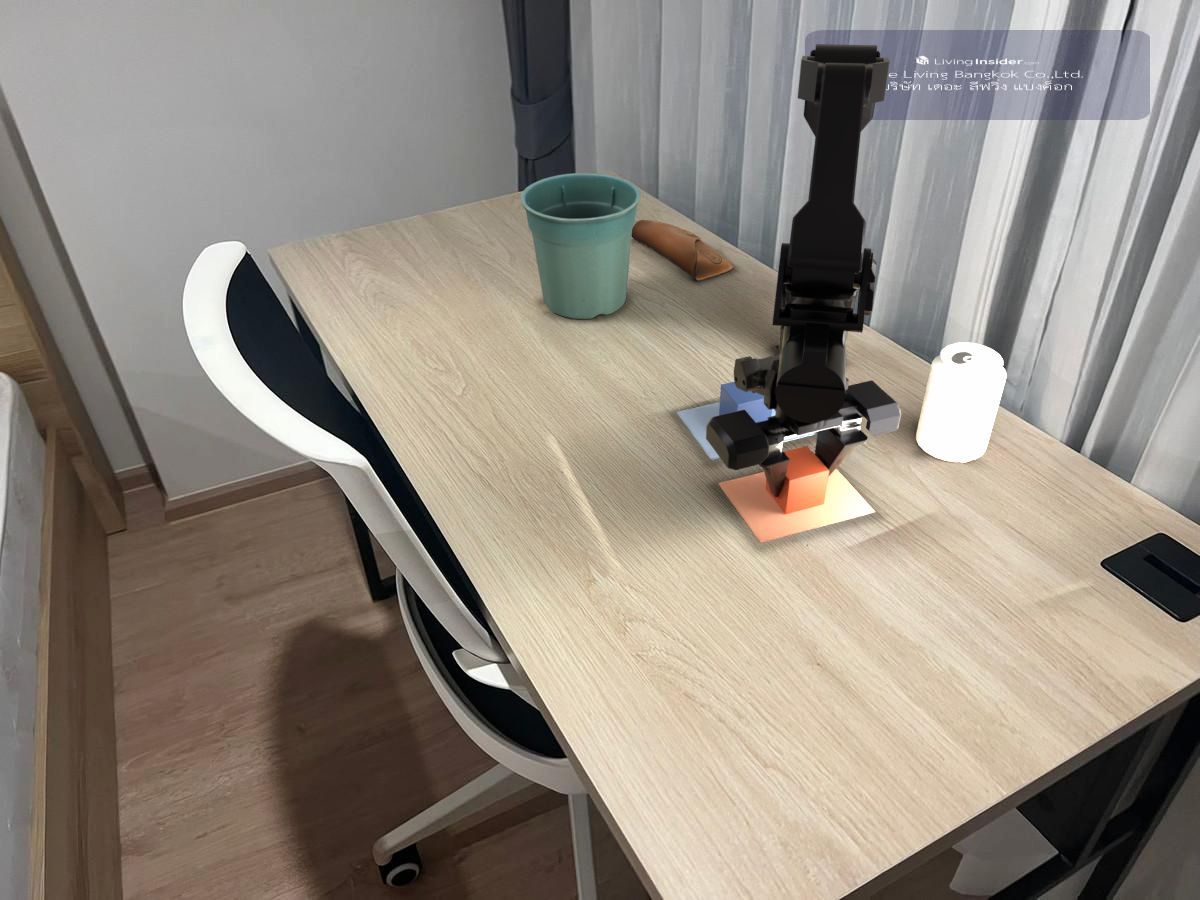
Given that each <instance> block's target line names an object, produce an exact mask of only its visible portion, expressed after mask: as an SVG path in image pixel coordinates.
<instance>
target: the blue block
mask: <svg viewBox="0 0 1200 900" xmlns="http://www.w3.org/2000/svg"><path fill="white" fill-rule="evenodd" d="M719 402H720V407H719V415H724V414H728V413H732V412H737V411H741V410H746V411H747V413H748V414H749V415H750V416H751V417H752V419H753V420H754V421H755V422H756V423H757V422H761V421H766V420H767V418H768V417H772V409H771V410H769V409H768V408H767V407H766V406H765V405H764V396H763V395H761V394H758V393H752V392H751V391H748V392H744V391H742V390H740V389H738V388H737V387H736V385H735V382H734V381H731V382H727V383H721V384H720V391H719Z"/></svg>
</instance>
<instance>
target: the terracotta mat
mask: <svg viewBox="0 0 1200 900" xmlns="http://www.w3.org/2000/svg"><path fill="white" fill-rule="evenodd" d="M717 484H718V485H719V487H720V488H721V489H722V491H723V493H724V494H725V495H726V497H727V498H728V499H729V501H730V503H731V504H732V505H733V506H734V508H735V509H736V511H737V512H738V513H739V515H740V517H741V518H742V519H743V520H744V522H745V524H746V525H747V526H748V527H749V529H750V530H751V532H752V534H753V535H754V536H755V537H756V539H757V540H758V542H759V543H760V544H763V543H765V542H769V541H773V540H778V539H781V538H784V537H787V536H792V535H796V534H800V533H803V532H807V531H810V530H814V529H818V528H821V527H825V526H829V525H832V524H836V523H839V522H844V521H847V520H851V519H856V518H858V517H863V516H866V515H869V514H872V513H876V511H875V509H874V508H872V506H871V505H870V504H869V503H868V502H867V501H866V500H865V498H864V497H862V495H861V494H860V493H859V492H858V491H857V489H855V487H853V485H852V484H851V483H850V482H849V481H848V479H847V478H846V477H845V476H844V475H843V474H842V473H841V472H840V471H839V469H838V468H836V469H835V470H834V471H833V472H832V474H831V475H830V476H829V477H828V481H827V488H826V494H825V501H824V504H822V505H819V506H815V507H811V508H807V509H804V510H800V511H796V512H792V513H789V514H785V513H784V512H783V510H782V509H781V508H780V507H779V505H778V504H777V503H776V501H775V500H774V499H773V498H772V496H771V495H770V494H769V492H768V491H767V490H766V488H765V487H766V476H765V473H764V471H762V472H757V473H753V474H749V475H744V476H742V477H741V476H740V477H737V478H734V479H729V480H724V481H720V482H718V483H717Z"/></svg>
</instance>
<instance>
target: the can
mask: <svg viewBox="0 0 1200 900" xmlns="http://www.w3.org/2000/svg"><path fill="white" fill-rule="evenodd" d="M1003 366H1004V359H1003V357H1002V356H1001V354H1000V353H999V352H997V351H995V349H993V348H991V347H988V346H986V345H983V344H979V343H975V342H955V343H951V344H948V345H946V346H944V347H943V348H942V349H941V350H940V353H939V355H937V356H935V358H934V359H933V360H932V361H931V364H930V370H929V373H928V379H927V383H926V387H925V391H924V396H923V401H922V404H921V410H920V414H919V419H918V424H917V428H916V434H915V440H916V443H917V444H918V447H920V448H921V449H922V450H923V452H925V453H926V454H928V455H929V456H932V457H934V458H936V459H939V460H941V461H944V462H949V463H950V462H951V463H961V464H964V463H968V462H971V461H974V460H977V459H979V458H980V457H982V456H984V454H985V452H986V451H987V448H988V445H989V441H990V438H991V434H992V430H993V426H994V423H995V419H996V416H997V413H998V409H999V405H1000V402H1001V399H1002V395H1003V391H1004V387H1005V384H1006V380H1007V371H1006V369H1005V368H1004V367H1003Z"/></svg>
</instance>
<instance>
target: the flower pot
mask: <svg viewBox="0 0 1200 900" xmlns="http://www.w3.org/2000/svg"><path fill="white" fill-rule="evenodd" d="M641 198H642V192H641V190H640V188H639V187H638V186H637V185H636V184H635V183H633V182H632V181H630V180H628V179H625V178H623V177H620V176H616V175H611V174H606V173H596V172H576V173H573V172H572V173H564V174H558V175H557V174H556V175H553V176H549V177H546V178H542V179H540V180H537V181H536V182H533V183H531V184H530V185H528V186H527V187H525V188H524V189H523V191H522V192H521V194H520V199H519V200H520V204H521V206H522V207H523V209H524V211H525V213H526V217H527V219H526V220H527V225H528V229H529V230H530V232H531V235H532V241H533V246H534V253H535V257H536V263H537V271H538V276H539V281H540V287H541V293H542V294H541V295H542V299H543V303H544V304H545V305H546V306H547V307H548V310H549V311H550V312H552V313H553V314H556V315H558V316H561V317H564V318H569V319H575V320H578V319H579V320H587V319H594V318H595V317H597V316H598V315H604V316H607V315H611V314H614V313H615V312H617V311H618V310H619V309H620V308H622V307H623V305H624V304H625V303H626V299H627V293H628V281H629V270H630V269H629V268H630V258H631V256H630V255H631V246H632V245H631V244H632V228H633V227H634V225H635V223H636V216H637V208H638V207H637V206H638V205H639V203H640V201H641Z"/></svg>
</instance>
